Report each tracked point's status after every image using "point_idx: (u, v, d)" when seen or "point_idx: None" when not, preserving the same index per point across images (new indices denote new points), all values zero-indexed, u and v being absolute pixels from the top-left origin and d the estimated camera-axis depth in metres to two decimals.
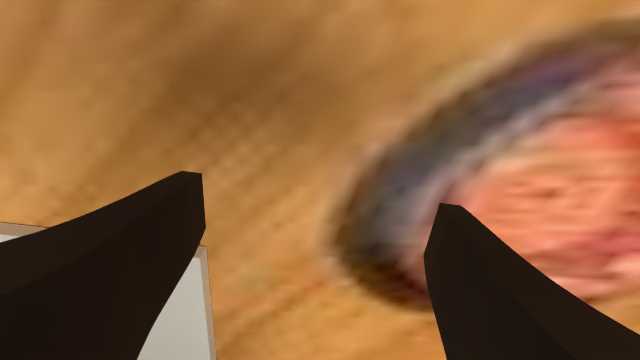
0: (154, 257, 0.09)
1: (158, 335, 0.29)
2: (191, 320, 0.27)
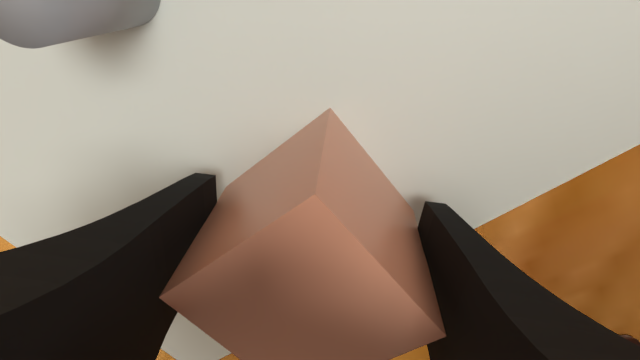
0: (171, 259, 0.09)
1: None
2: None
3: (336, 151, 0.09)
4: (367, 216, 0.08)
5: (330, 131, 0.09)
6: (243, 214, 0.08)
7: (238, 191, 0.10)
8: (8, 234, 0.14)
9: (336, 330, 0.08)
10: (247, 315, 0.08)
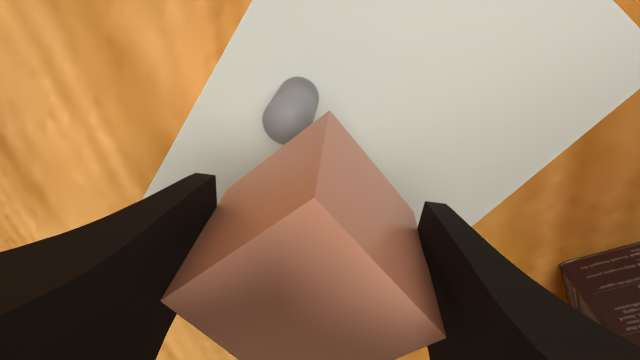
0: (171, 259, 0.09)
1: (478, 35, 0.16)
2: None
3: (335, 154, 0.09)
4: (366, 218, 0.08)
5: (329, 134, 0.09)
6: (243, 217, 0.08)
7: (238, 194, 0.10)
8: None
9: (337, 332, 0.08)
10: (248, 318, 0.08)
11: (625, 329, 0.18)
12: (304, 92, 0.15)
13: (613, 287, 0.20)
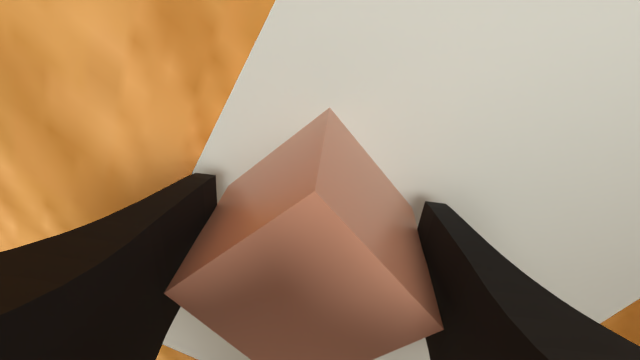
0: (171, 259, 0.09)
1: (598, 96, 0.10)
2: None
3: (335, 150, 0.09)
4: (365, 213, 0.08)
5: (329, 130, 0.09)
6: (245, 212, 0.08)
7: (240, 190, 0.10)
8: None
9: (337, 324, 0.08)
10: (249, 310, 0.08)
11: None
12: None
13: None
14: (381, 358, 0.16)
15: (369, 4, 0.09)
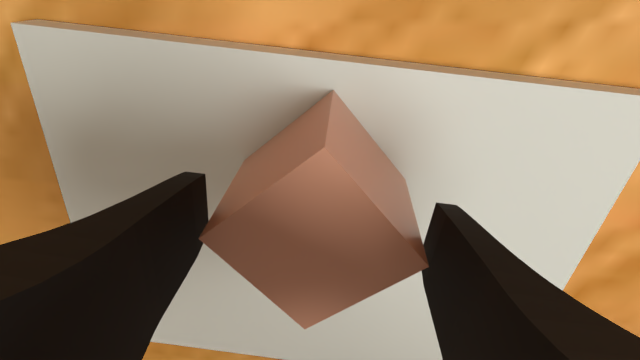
0: (159, 258, 0.09)
1: None
2: (556, 248, 0.15)
3: (339, 122, 0.10)
4: (365, 172, 0.10)
5: (334, 107, 0.11)
6: (264, 173, 0.10)
7: (256, 160, 0.12)
8: (66, 182, 0.15)
9: (341, 264, 0.10)
10: (269, 252, 0.10)
11: None
12: None
13: None
14: (190, 276, 0.17)
15: (486, 139, 0.13)
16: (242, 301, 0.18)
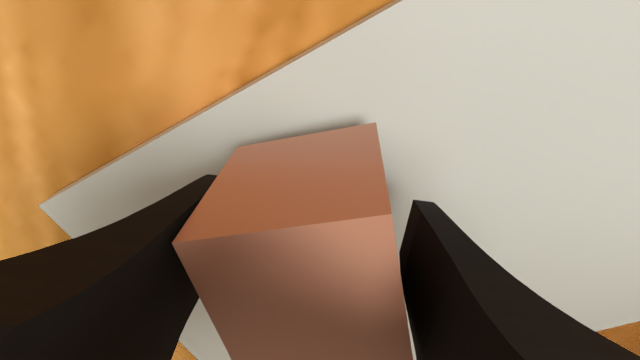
0: None
1: (554, 206, 0.13)
2: (637, 116, 0.11)
3: (228, 179, 0.09)
4: (258, 201, 0.08)
5: (226, 168, 0.10)
6: None
7: None
8: None
9: (333, 294, 0.08)
10: (283, 340, 0.08)
11: None
12: None
13: None
14: None
15: (456, 55, 0.11)
16: None
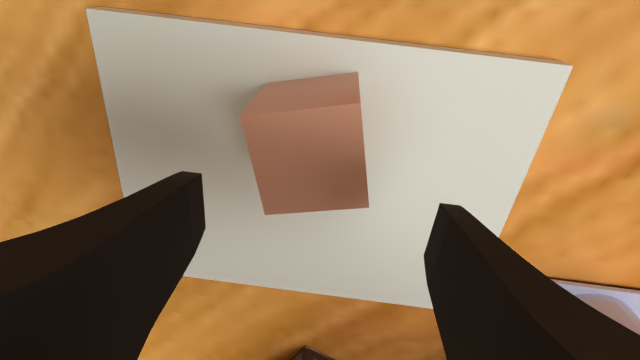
0: (154, 257, 0.09)
1: (432, 215, 0.20)
2: (497, 186, 0.19)
3: (265, 95, 0.15)
4: (287, 101, 0.14)
5: (262, 91, 0.16)
6: None
7: None
8: (117, 135, 0.19)
9: (326, 153, 0.14)
10: (294, 187, 0.15)
11: None
12: None
13: None
14: (211, 215, 0.22)
15: (438, 97, 0.17)
16: (252, 236, 0.22)
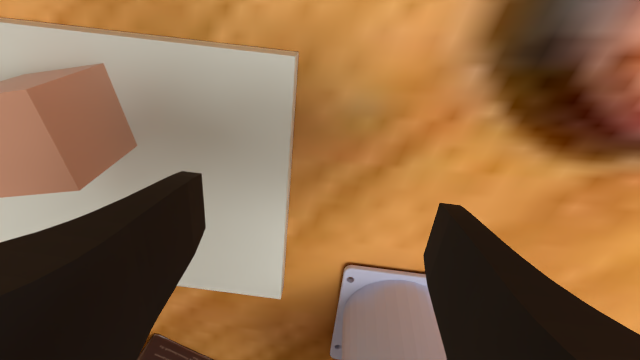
0: (154, 257, 0.09)
1: (217, 202, 0.21)
2: (267, 174, 0.20)
3: None
4: None
5: (0, 81, 0.17)
6: None
7: None
8: None
9: (18, 138, 0.15)
10: (5, 171, 0.15)
11: None
12: None
13: None
14: (16, 203, 0.22)
15: (184, 88, 0.18)
16: None
